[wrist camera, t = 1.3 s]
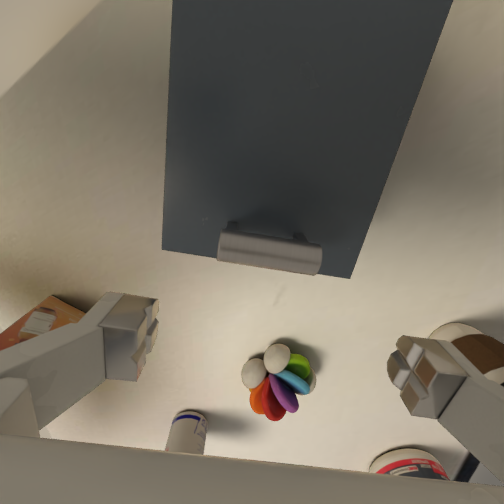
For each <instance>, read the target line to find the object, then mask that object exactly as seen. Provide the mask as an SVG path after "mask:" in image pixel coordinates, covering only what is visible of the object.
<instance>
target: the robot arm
mask: <svg viewBox="0 0 504 504" xmlns="http://www.w3.org/2000/svg"><path fill="white" fill-rule="evenodd" d="M158 312H159V300H158V299H155V298H149V297H143V296H137V295H131V294H125V293H118V292H111V291H110V292H107V293H105V294H104V295H103V297H102V298H101V299H100V300H99V301H98V302H97V303H96V304H95V305H94V306H93V307H92V308H91V309H90V310H89V311H88V312H87V313H86V314H85V315H84V316H83V317H82V318H81V319H80V320H79V322H78V323H69V324H67V325H64V326H62V327H59V328H57V329H54V330H52V331H49V332H47V333H44V334H41V335H39V336H36V337H34V338H31V339H29V340H26V341H24V342H21V343H19V344H16V345H14V346H11V347H9V348H6V349H4V350H1V351H0V504H504V486H495V485H486V484H476V483H467V482H457V481H447V480H437V479H428V478H418V477H408V476H399V475H389V474H379V473H370V472H360V471H351V470H342V469H332V468H323V467H313V466H304V465H294V464H285V463H276V462H266V461H257V460H247V459H238V458H228V457H219V456H209V455H200V454H190V453H180V452H171V451H161V450H152V449H142V448H133V447H123V446H114V445H104V444H95V443H85V442H76V441H66V440H57V439H47V438H40V434H39V430H41V429H42V428H43V427H44V426H46V425H47V424H48V423H50V422H51V421H52V420H54V419H55V418H56V417H58V416H59V415H60V414H62V413H63V412H64V411H66V410H67V409H68V408H70V407H71V406H72V405H74V404H75V403H76V402H78V401H79V400H80V399H82V398H83V397H84V396H86V395H87V394H88V393H90V392H91V391H92V390H94V389H95V388H96V387H98V386H99V385H100V384H102V383H103V382H104V381H105V380H106V379H115V380H125V381H136V382H137V380H138V378H139V376H140V374H141V372H142V370H143V367H144V365H145V363H146V354H148V353H150V352H151V351H152V348H153V346H154V344H155V340H156V337H157V332H158V320H157V319H156V318H155V317H156V315H157V313H158ZM396 347H397V350H396V351H395V352H393V353H392V354H391V355H390V357H389V359H388V361H387V372H388V375H389V378H390V380H391V381H392V383H393V384H394V385H395V386H396V387H397V388H399V389H400V390H401V392H400V397H401V399H402V400H403V402H404V404H405V405H406V407H407V409H408V410H409V412H410V414H411V415H412V416H418V417H425V418H431V419H438V422H439V423H440V424H441V425H442V426H443V427H444V428H446V429H447V430H448V431H449V432H450V433H451V434H452V435H453V436H454V437H455V438H456V439H457V440H458V441H459V442H460V443H461V444H462V445H463V446H464V447H465V448H466V449H467V450H468V451H470V452H471V453H472V454H473V455H474V456H475V457H476V458H477V459H478V460H479V461H480V462H481V463H482V464H483V465H484V466H485V467H486V468H487V469H488V470H489V471H490V472H491V473H493V474H494V475H495V476H496V477H497V478H498V479H499V480H500V481H501V482H502V483H503V484H504V387H503V386H501V385H500V384H498V383H496V382H495V381H493V380H488V379H487V378H486V377H485V376H484V375H483V374H482V373H481V372H480V371H479V370H478V369H477V368H476V367H475V366H474V365H473V364H472V363H471V362H470V361H469V360H468V359H467V358H466V357H465V356H464V355H463V354H462V353H461V352H460V351H459V350H458V349H457V348H456V347H455V346H454V345H453V344H452V343H450V342H448V341H446V340H438V339H426V338H419V337H412V336H404V335H403V336H401V337H400V338H399V339H398V341H397V343H396Z"/></svg>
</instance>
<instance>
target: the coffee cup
mask: <svg viewBox="0 0 504 504" xmlns="http://www.w3.org/2000/svg"><path fill="white" fill-rule="evenodd" d="M428 339H438V340H446V341H448V342H450V343H452V344H453V345H454V346H455V347H456V348H457V349H458V350H459V351H460V352H461V353H462V354H463V355H464V356H465V357H466V358H467V359H468V360H469V361H470V362H471V363H472V364H473V365H474V366H475V367H476V368H477V369H478V370H479V371H480V372H481V373H482V374H483V375H484V376H485V377H486V378H487V379H488V380H493V381H495V382H496V383H498V384H500V385H501V386H503V387H504V344H502V343H501V342H499V341H498V340H496V339H494V338H493V337H490V336H487V335H485V334H483V333H482V332H480V331H478V330H477V329H475V328H474V327H471V326H468V325H465V324H461V323H449V324H447V325H444V326H441V327H440V328H438V329H437V330H435V331H434V332H433V333H432V334H431V336H430V337H429V338H428Z"/></svg>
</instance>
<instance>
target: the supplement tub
mask: <svg viewBox="0 0 504 504" xmlns="http://www.w3.org/2000/svg"><path fill="white" fill-rule="evenodd" d="M369 472H370V473H379V474H389V475H399V476H408V477H418V478H428V479H437V480H447V481H450V479H449V478H448V476H447V474H446V473H445V471H444V469H443V468H442V466H441V464H440V463H439V461H438V460H437V459H436V458H435V457H434V456H432V455H431V454H429V453H427V452H425V451H422V450H418V449H399V450H394V451H391V452H388V453H386V454H384V455H382V456H380V457H379V458H378V459H376V460H375V461H374V462H373V464H372V465H371V467H370V469H369Z"/></svg>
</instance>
